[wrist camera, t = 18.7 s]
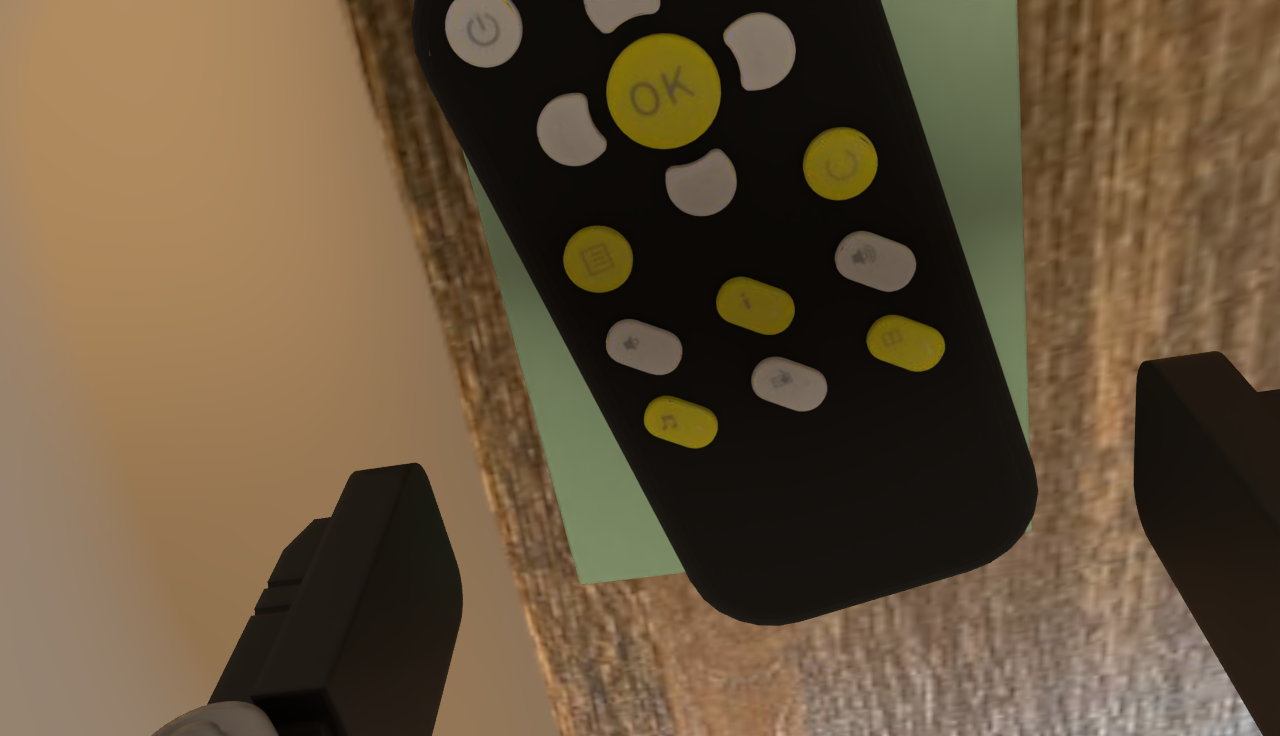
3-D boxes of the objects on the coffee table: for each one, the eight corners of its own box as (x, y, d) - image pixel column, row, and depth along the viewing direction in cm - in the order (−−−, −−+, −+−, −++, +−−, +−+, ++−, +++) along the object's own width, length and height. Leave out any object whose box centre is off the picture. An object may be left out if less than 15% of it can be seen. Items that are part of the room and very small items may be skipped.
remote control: (719, 592, 22) (722, 666, 20) (392, -43, 16) (355, -18, 14) (1038, 494, 20) (1070, 564, 18) (795, -238, 15) (808, -237, 13)
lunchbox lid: (394, -149, 16) (381, -145, 16) (996, -276, 15) (1010, -278, 15) (583, 560, 22) (579, 586, 22) (1021, 507, 21) (1033, 532, 21)
